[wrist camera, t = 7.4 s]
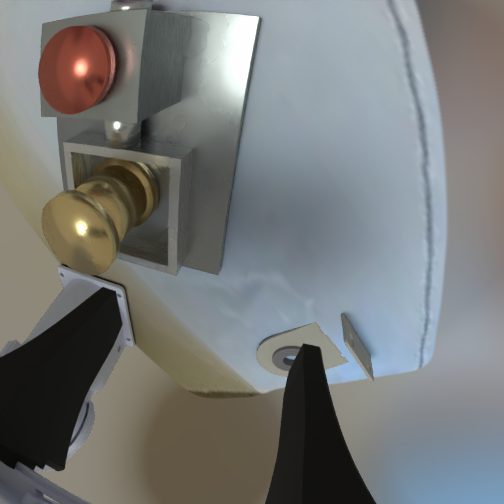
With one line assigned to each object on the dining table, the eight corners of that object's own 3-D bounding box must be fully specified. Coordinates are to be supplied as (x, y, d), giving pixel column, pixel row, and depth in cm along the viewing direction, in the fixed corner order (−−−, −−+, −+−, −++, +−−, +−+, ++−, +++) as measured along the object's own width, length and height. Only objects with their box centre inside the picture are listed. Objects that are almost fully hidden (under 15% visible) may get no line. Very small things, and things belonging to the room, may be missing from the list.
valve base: (220, 268, 23) (192, 338, 18) (76, 228, 24) (30, 278, 19) (263, 8, 12) (231, -15, 7) (67, 13, 13) (-10, 22, 8)
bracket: (244, 339, 29) (236, 370, 26) (346, 307, 24) (347, 342, 21) (280, 375, 31) (275, 403, 29) (372, 351, 27) (374, 382, 24)
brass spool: (159, 226, 21) (117, 284, 16) (100, 213, 21) (52, 263, 17) (158, 158, 18) (104, 206, 13) (93, 150, 18) (33, 192, 14)
